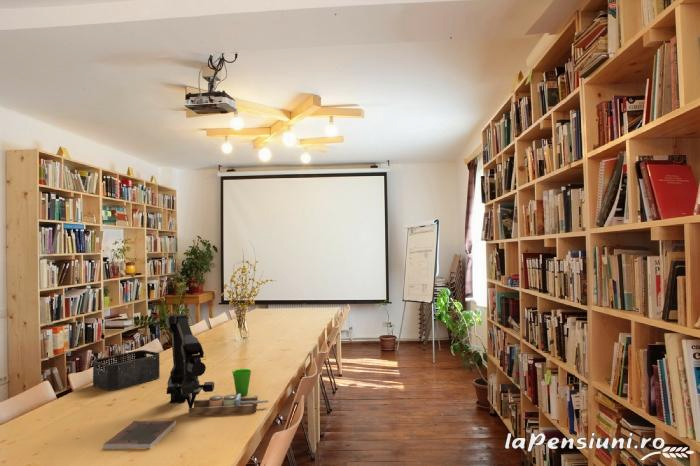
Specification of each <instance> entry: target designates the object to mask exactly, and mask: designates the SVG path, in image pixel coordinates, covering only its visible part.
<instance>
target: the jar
mask: <svg viewBox="0 0 700 466" xmlns="http://www.w3.org/2000/svg"><path fill="white" fill-rule="evenodd" d="M223 398H224V396H223V395H218V394H216V395H213V396H210V397H209V407H214V406H223Z"/></svg>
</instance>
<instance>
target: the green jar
mask: <svg viewBox="0 0 700 466" xmlns="http://www.w3.org/2000/svg"><path fill="white" fill-rule="evenodd" d="M236 398H237V395H236V394H228V395H224V396H223V406H232V405H236Z"/></svg>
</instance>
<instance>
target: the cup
mask: <svg viewBox="0 0 700 466" xmlns="http://www.w3.org/2000/svg"><path fill="white" fill-rule="evenodd" d="M251 373H252V370H251V369H249V368H239V369H235V370H232V373H231V374H232V375H233V382H234V388H235V395H236V396H237V395H238V394H241V397H244V396H245V397H246V396H247V395H248V394H249V393H248V392H249V387H250V380H251V379H250V378H251Z"/></svg>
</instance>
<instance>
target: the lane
mask: <svg viewBox="0 0 700 466" xmlns="http://www.w3.org/2000/svg"><path fill="white" fill-rule="evenodd" d="M209 399H210V398H209ZM209 399H207V398H206V399H195V400H194V403H193V407H192V408H189V407H188V417H195V416H194V415H202V416H215V415H214V414H219V415H231V414H230V413H235V414H246V413H247V414H248V413H249V412H252V413H255V412H257V407H258V404H259V403H257V401H259V400H258V395H254V396H245V397H244V396H241V402H242V401H254V402H253V403H250V404H241V405H232V406H214V407H209ZM249 414H250V413H249Z"/></svg>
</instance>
